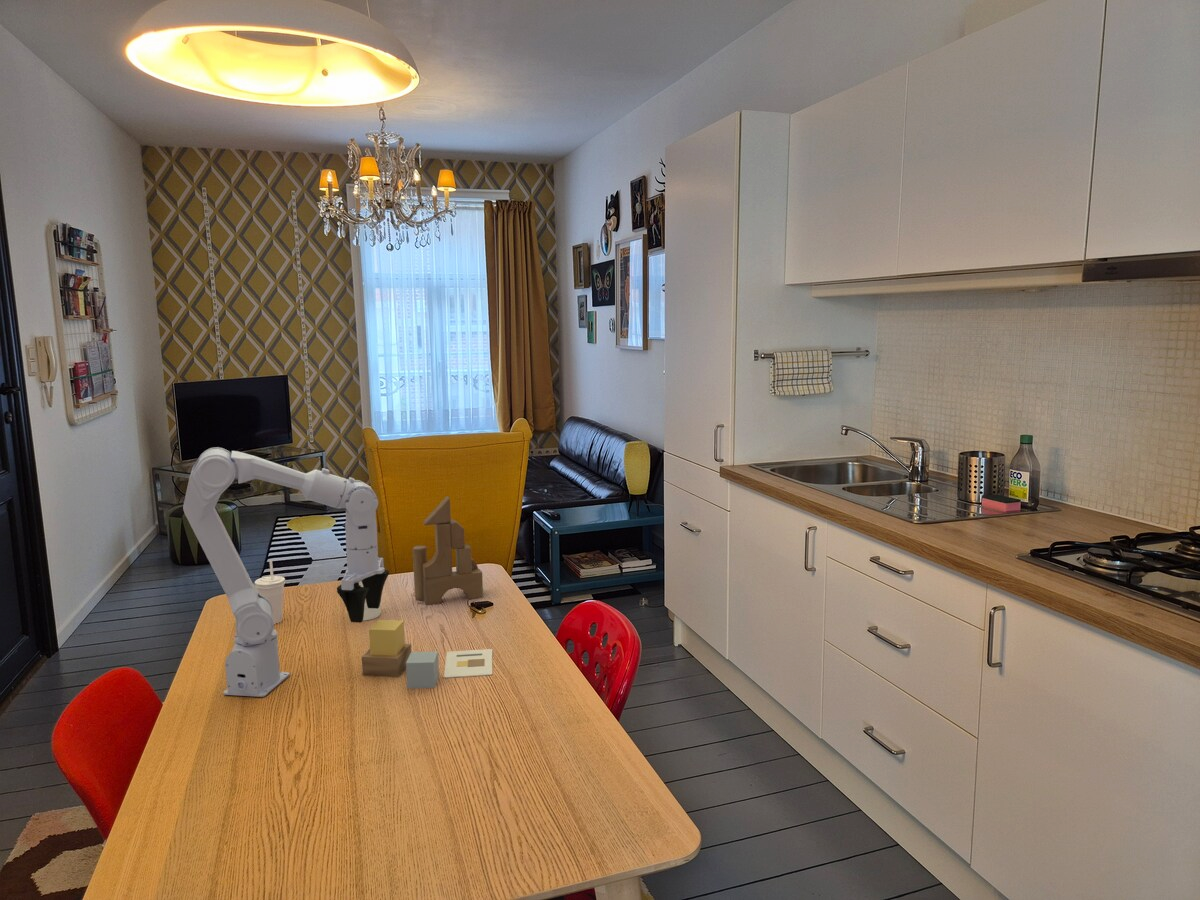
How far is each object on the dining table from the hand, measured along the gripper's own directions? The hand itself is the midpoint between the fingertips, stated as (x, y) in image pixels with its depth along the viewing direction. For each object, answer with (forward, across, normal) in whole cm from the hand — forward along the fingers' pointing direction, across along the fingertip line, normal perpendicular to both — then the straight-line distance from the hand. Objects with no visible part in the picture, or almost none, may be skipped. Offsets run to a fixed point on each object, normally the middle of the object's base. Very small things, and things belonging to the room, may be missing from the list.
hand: (365, 614), depth 158 cm
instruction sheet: (+10, +3, -19) cm, 22 cm away
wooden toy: (+10, +40, -3) cm, 41 cm away
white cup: (+10, +26, +12) cm, 30 cm away
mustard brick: (+6, -1, -5) cm, 8 cm away
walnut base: (+10, -1, -4) cm, 11 cm away
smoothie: (+11, +20, +31) cm, 38 cm away
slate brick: (+10, -6, -13) cm, 18 cm away
